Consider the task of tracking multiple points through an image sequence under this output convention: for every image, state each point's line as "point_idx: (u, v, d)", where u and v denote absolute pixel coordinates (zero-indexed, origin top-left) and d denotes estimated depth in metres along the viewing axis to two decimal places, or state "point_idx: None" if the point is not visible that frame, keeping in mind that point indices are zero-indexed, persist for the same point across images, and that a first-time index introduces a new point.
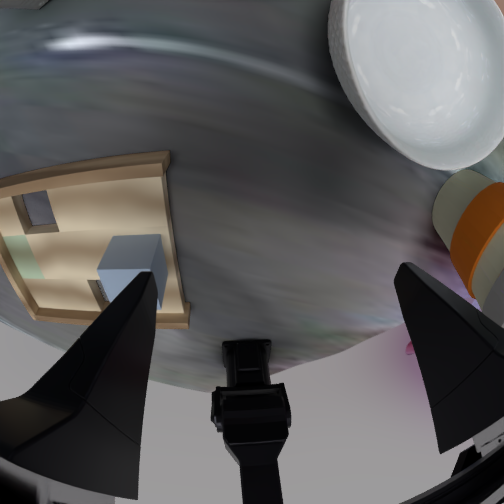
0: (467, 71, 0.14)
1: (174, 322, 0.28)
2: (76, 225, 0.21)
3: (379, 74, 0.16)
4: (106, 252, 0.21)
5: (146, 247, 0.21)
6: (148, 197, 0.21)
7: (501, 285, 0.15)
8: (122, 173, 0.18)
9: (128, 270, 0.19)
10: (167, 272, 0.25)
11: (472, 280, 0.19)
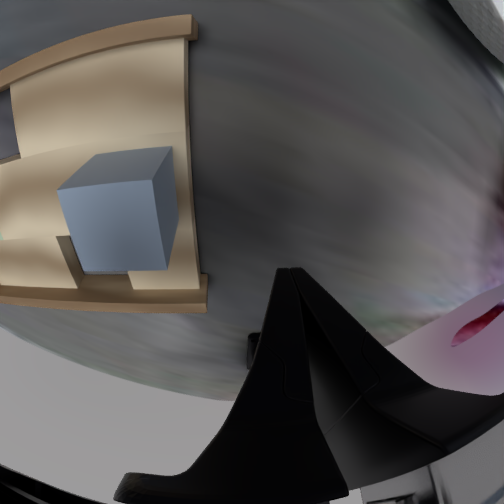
0: None
1: (185, 302, 0.19)
2: (43, 143, 0.12)
3: None
4: (79, 170, 0.11)
5: (147, 158, 0.12)
6: (158, 83, 0.11)
7: None
8: (124, 34, 0.08)
9: (110, 185, 0.10)
10: (178, 216, 0.16)
11: None
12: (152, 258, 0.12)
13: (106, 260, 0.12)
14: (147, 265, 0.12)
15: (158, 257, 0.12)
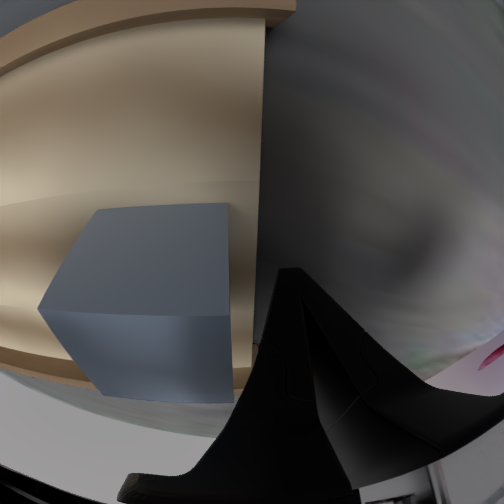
0: None
1: (236, 387, 0.14)
2: (20, 188, 0.07)
3: None
4: (73, 252, 0.07)
5: (195, 237, 0.07)
6: (215, 93, 0.07)
7: None
8: None
9: (141, 317, 0.05)
10: None
11: None
12: (214, 395, 0.08)
13: (139, 392, 0.07)
14: (204, 399, 0.08)
15: (223, 394, 0.07)
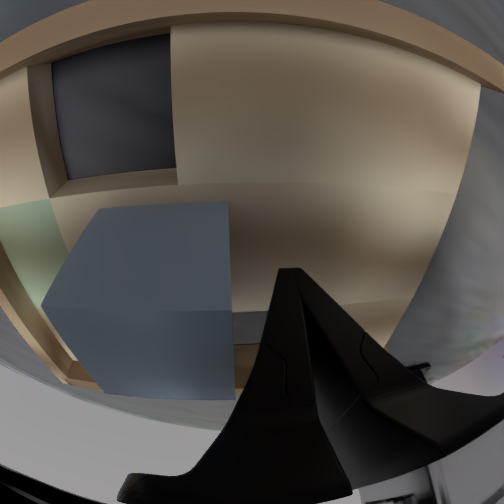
0: None
1: None
2: (249, 165, 0.08)
3: None
4: (76, 250, 0.07)
5: (197, 234, 0.07)
6: (453, 128, 0.08)
7: None
8: (466, 55, 0.05)
9: (144, 312, 0.05)
10: None
11: None
12: (216, 391, 0.08)
13: (141, 389, 0.07)
14: (206, 396, 0.08)
15: (224, 390, 0.08)
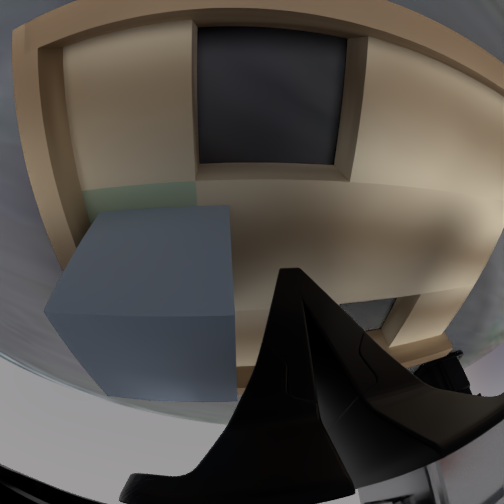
0: None
1: (439, 350, 0.15)
2: (405, 172, 0.09)
3: None
4: (77, 254, 0.07)
5: (199, 239, 0.07)
6: None
7: None
8: None
9: (148, 318, 0.05)
10: None
11: None
12: (218, 393, 0.08)
13: (143, 391, 0.07)
14: (208, 398, 0.08)
15: (226, 392, 0.08)
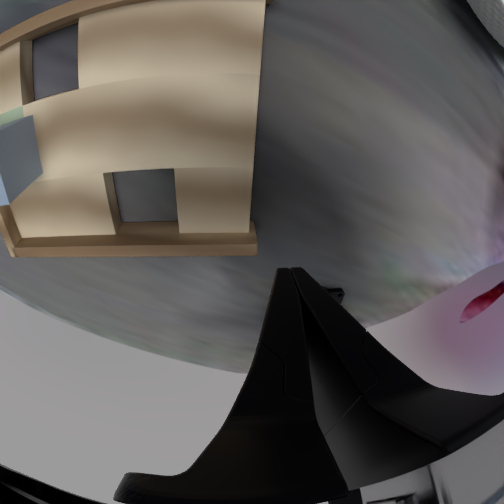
0: None
1: (236, 243, 0.19)
2: (110, 73, 0.12)
3: None
4: None
5: (8, 124, 0.11)
6: (239, 30, 0.12)
7: None
8: None
9: None
10: (41, 169, 0.15)
11: None
12: (0, 195, 0.11)
13: None
14: None
15: (3, 194, 0.11)
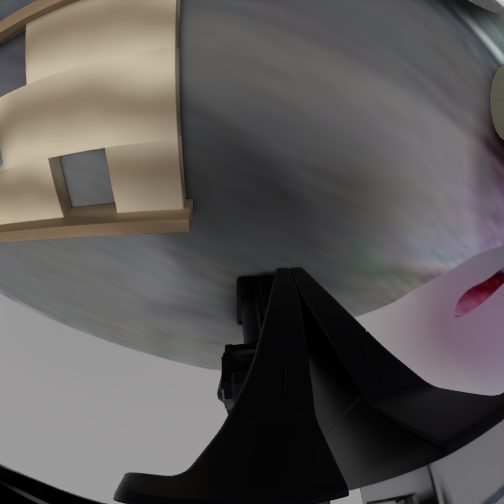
0: None
1: (167, 219, 0.18)
2: (49, 68, 0.11)
3: None
4: None
5: None
6: (154, 10, 0.11)
7: None
8: None
9: None
10: (1, 160, 0.14)
11: None
12: None
13: None
14: None
15: None
